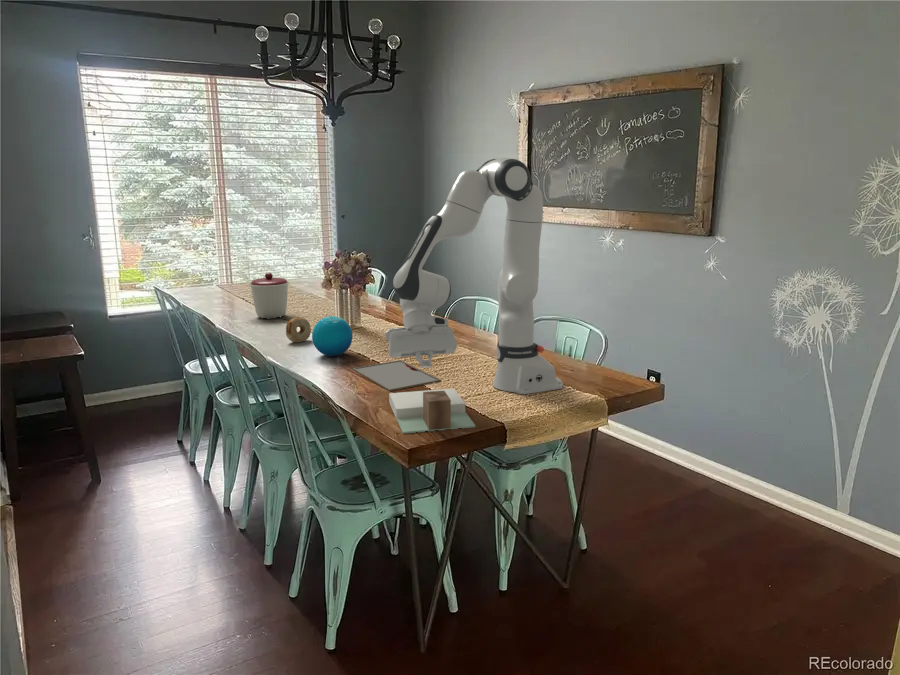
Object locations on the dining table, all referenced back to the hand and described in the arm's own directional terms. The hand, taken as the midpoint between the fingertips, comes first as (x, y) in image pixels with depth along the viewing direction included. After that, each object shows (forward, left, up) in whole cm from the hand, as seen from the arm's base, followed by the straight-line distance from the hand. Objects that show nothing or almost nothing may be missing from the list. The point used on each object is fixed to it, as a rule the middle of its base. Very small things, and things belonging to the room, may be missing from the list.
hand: (426, 366), depth 198 cm
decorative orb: (+23, -62, -12) cm, 68 cm away
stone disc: (+35, -86, -12) cm, 94 cm away
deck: (0, +2, -12) cm, 12 cm away
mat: (0, +15, -12) cm, 19 cm away
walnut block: (0, +12, -8) cm, 14 cm away
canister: (+47, -137, -12) cm, 146 cm away
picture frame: (+4, -32, -13) cm, 35 cm away
